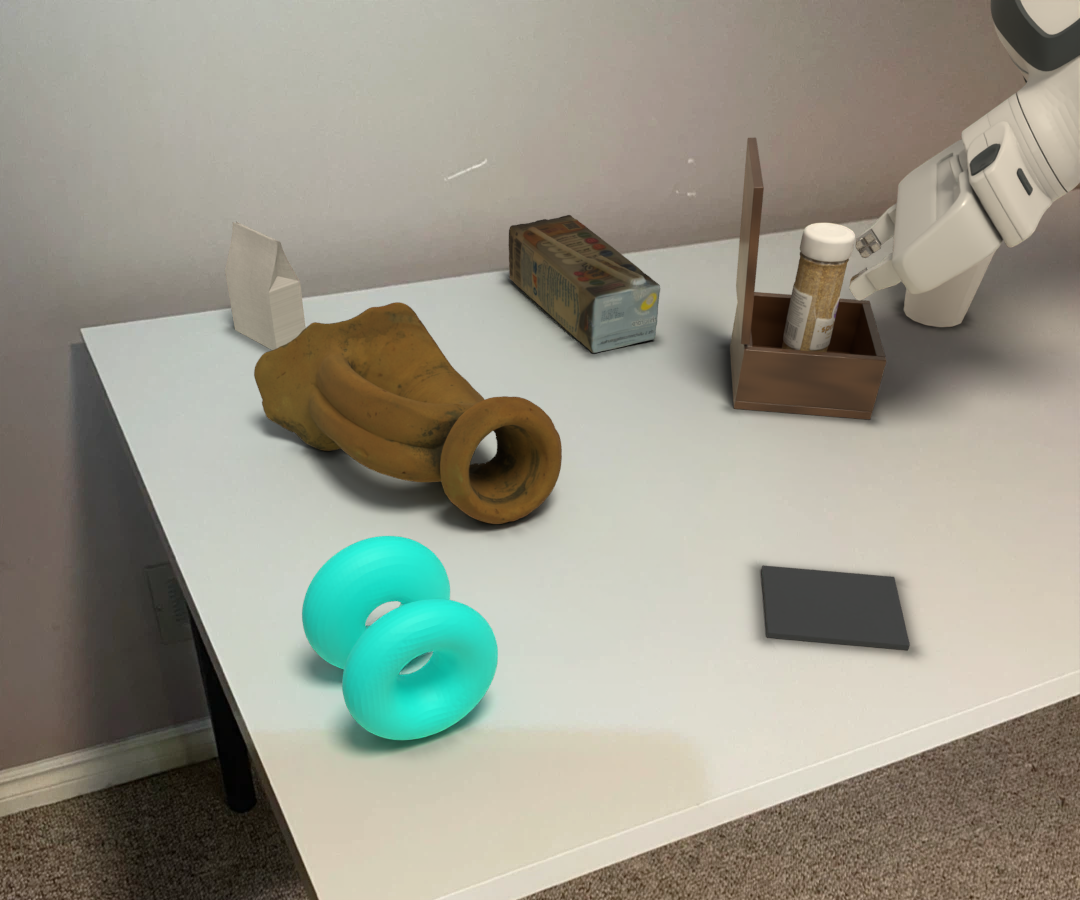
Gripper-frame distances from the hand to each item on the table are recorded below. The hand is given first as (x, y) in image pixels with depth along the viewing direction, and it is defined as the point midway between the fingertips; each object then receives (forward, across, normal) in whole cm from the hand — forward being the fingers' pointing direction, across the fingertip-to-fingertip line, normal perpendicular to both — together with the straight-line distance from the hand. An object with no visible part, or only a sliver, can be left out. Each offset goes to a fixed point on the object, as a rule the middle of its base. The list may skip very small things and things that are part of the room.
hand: (856, 269), depth 96 cm
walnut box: (+10, +1, +6) cm, 11 cm away
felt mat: (+6, +35, +10) cm, 37 cm away
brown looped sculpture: (+32, +27, -16) cm, 45 cm away
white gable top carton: (+46, +8, -30) cm, 56 cm away
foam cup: (+1, -20, +15) cm, 25 cm away
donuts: (+25, +53, -9) cm, 59 cm away
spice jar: (+9, +1, +5) cm, 11 cm away
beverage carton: (+27, -8, -11) cm, 30 cm away
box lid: (+5, +2, -8) cm, 10 cm away
